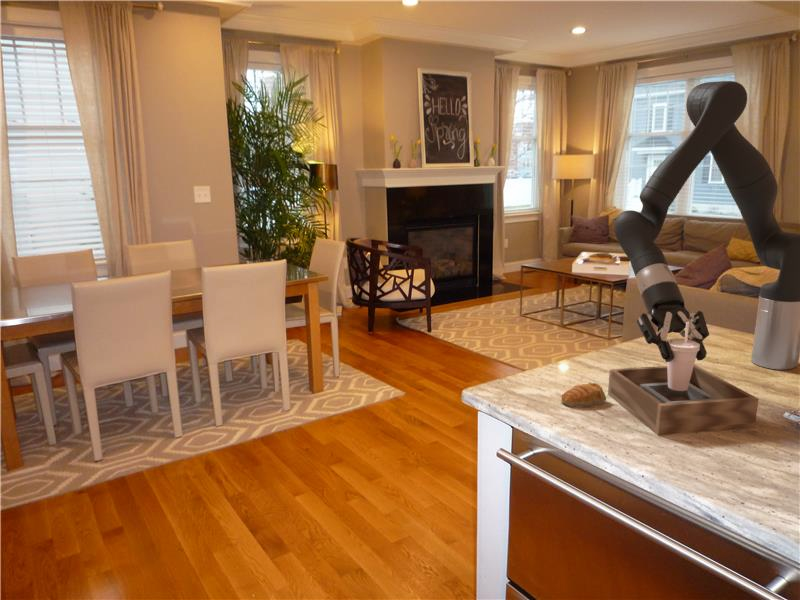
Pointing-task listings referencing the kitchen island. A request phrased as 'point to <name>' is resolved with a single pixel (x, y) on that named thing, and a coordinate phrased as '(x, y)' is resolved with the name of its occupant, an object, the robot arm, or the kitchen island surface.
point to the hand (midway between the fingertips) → (686, 359)
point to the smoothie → (681, 361)
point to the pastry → (584, 395)
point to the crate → (682, 401)
